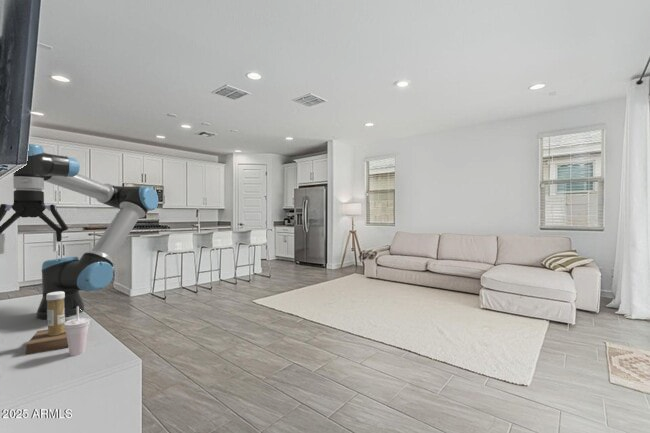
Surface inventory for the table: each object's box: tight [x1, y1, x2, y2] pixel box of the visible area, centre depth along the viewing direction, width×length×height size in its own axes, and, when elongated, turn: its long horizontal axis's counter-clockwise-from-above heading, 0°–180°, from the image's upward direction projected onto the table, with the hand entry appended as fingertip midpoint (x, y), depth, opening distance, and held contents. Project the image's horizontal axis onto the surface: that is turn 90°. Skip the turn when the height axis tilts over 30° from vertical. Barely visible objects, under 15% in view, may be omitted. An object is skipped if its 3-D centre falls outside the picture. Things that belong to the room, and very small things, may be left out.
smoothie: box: [63, 306, 91, 357], centre depth 95 cm, size 6×6×14 cm
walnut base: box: [25, 329, 68, 355], centre depth 102 cm, size 12×12×3 cm
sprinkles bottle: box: [46, 291, 66, 336], centre depth 102 cm, size 5×5×13 cm
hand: (29, 252), depth 107 cm, fingers open, 13 cm apart
